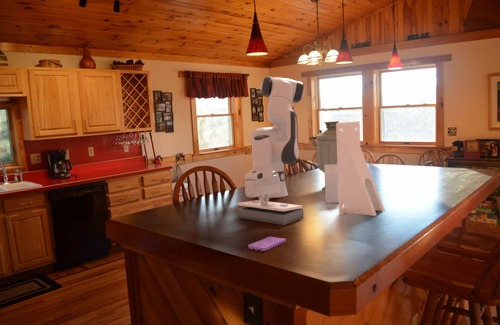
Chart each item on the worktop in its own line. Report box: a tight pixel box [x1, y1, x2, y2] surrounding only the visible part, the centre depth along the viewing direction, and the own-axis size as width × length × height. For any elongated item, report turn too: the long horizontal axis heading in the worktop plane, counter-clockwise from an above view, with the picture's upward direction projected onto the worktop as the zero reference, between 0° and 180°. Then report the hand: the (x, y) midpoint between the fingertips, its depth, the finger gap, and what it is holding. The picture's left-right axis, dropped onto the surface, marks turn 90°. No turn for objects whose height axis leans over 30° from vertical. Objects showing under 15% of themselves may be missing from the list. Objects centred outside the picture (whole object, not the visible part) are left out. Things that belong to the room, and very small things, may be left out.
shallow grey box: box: [236, 206, 304, 226], centre depth 177 cm, size 26×14×4 cm, turn 48°
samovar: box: [309, 120, 341, 191], centre depth 239 cm, size 30×26×40 cm
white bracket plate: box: [336, 121, 386, 217], centre depth 177 cm, size 20×14×40 cm
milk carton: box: [324, 164, 339, 204], centre depth 203 cm, size 7×7×19 cm
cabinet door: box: [236, 199, 304, 211], centre depth 177 cm, size 26×14×2 cm, turn 48°
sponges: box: [247, 236, 287, 252], centre depth 138 cm, size 7×13×2 cm, turn 141°
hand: (264, 204), depth 174 cm, fingers closed
